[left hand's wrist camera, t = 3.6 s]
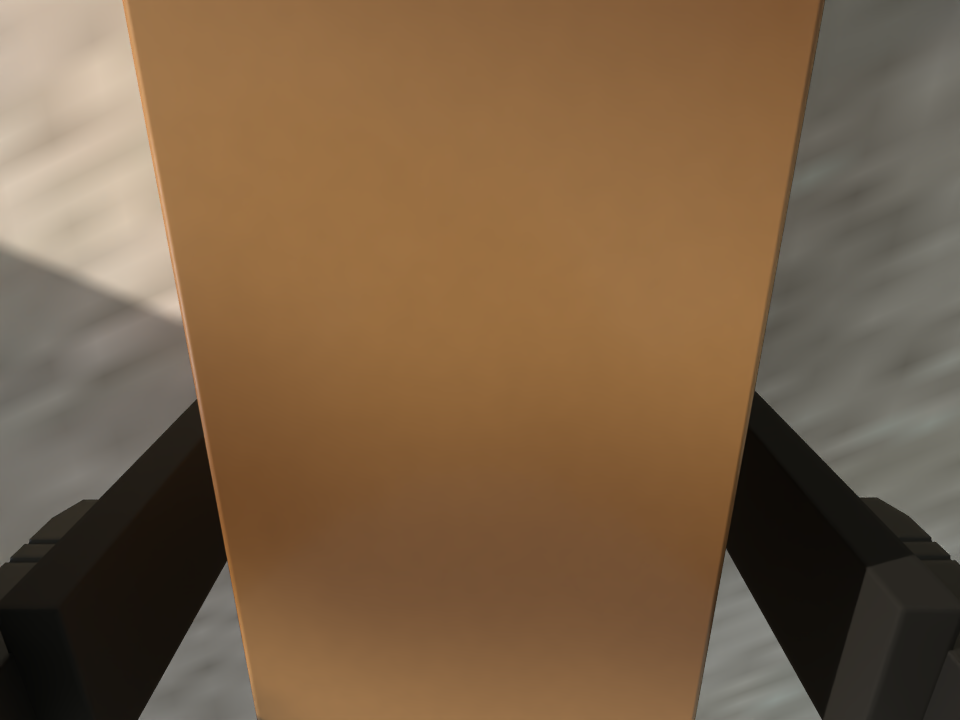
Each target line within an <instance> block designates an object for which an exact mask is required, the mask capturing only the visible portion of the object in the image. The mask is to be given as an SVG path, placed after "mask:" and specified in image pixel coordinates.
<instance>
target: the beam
mask: <svg viewBox="0 0 960 720" xmlns="http://www.w3.org/2000/svg"><path fill="white" fill-rule="evenodd" d="M824 3H825V0H123V6H124V11H125V16H126V22H127V27H128V32H129V38H130V43H131V48H132V54H133V59H134V64H135V70H136V75H137V80H138V86H139V91H140V96H141V102H142V107H143V112H144V118H145V123H146V128H147V134H148V139H149V144H150V150H151V155H152V160H153V166H154V171H155V176H156V182H157V187H158V192H159V198H160V203H161V208H162V214H163V219H164V224H165V230H166V235H167V240H168V246H169V251H170V256H171V262H172V267H173V272H174V278H175V283H176V288H177V294H178V299H179V304H180V310H181V315H182V320H183V326H184V331H185V337H186V342H187V347H188V353H189V358H190V363H191V369H192V374H193V379H194V385H195V390H196V395H197V401H198V406H199V411H200V417H201V422H202V427H203V433H204V438H205V443H206V449H207V454H208V459H209V465H210V470H211V475H212V481H213V486H214V491H215V497H216V502H217V507H218V513H219V518H220V523H221V529H222V534H223V539H224V545H225V550H226V555H227V561H228V566H229V571H230V577H231V582H232V587H233V593H234V598H235V603H236V609H237V614H238V619H239V625H240V630H241V635H242V641H243V646H244V651H245V657H246V662H247V667H248V673H249V678H250V683H251V689H252V694H253V699H254V705H255V710H256V715H257V720H695V717H696V711H697V706H698V700H699V695H700V689H701V684H702V678H703V672H704V667H705V661H706V656H707V650H708V645H709V639H710V634H711V628H712V623H713V617H714V612H715V606H716V601H717V595H718V589H719V584H720V578H721V573H722V567H723V562H724V556H725V551H726V545H727V540H728V534H729V529H730V523H731V518H732V512H733V507H734V501H735V495H736V490H737V484H738V479H739V473H740V468H741V462H742V457H743V451H744V446H745V440H746V435H747V429H748V424H749V418H750V413H751V407H752V401H753V396H754V390H755V385H756V379H757V374H758V368H759V363H760V357H761V352H762V346H763V341H764V335H765V330H766V324H767V318H768V313H769V307H770V302H771V296H772V291H773V285H774V280H775V274H776V269H777V263H778V258H779V252H780V247H781V241H782V236H783V230H784V224H785V219H786V213H787V208H788V202H789V197H790V191H791V186H792V180H793V175H794V169H795V164H796V158H797V153H798V147H799V142H800V136H801V130H802V125H803V119H804V114H805V108H806V103H807V97H808V92H809V86H810V81H811V75H812V70H813V64H814V59H815V53H816V47H817V42H818V36H819V31H820V25H821V20H822V14H823V9H824Z"/></svg>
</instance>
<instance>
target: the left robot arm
mask: <svg viewBox="0 0 960 720" xmlns="http://www.w3.org/2000/svg"><path fill="white" fill-rule="evenodd" d="M29 541H30V542H29V544H24V545H23V546H22V547H21V548H20V549H19V550H18V551H17V552H16V553H15V554H14V555H13V556H12V557H11V558H10V559H11V560H10V562H9V563H5V564H4V565H2V566H1V567H0V720H138V719H139V717H140V715H141V713H142V711H143V710H144V708H145V706H146V704H147V703H148V701H149V699H150V697H151V695H152V694H153V692H154V690H155V688H156V686H157V685H158V683H159V681H160V679H161V678H162V676H163V674H164V672H165V670H166V669H167V667H168V665H169V663H170V661H171V660H172V658H173V656H174V654H175V653H176V651H177V649H178V647H179V645H180V644H181V642H182V640H183V638H184V636H185V635H186V633H187V631H188V629H189V628H190V626H191V624H192V622H193V620H194V619H195V617H196V615H197V613H198V611H199V610H200V608H201V606H202V604H203V603H204V601H205V599H206V597H207V595H208V594H209V592H210V590H211V588H212V587H213V585H214V583H215V581H216V579H217V578H218V576H219V574H220V572H221V570H222V569H223V567H224V565H225V563H226V562H227V555H226V550H225V545H224V539H223V534H222V529H221V523H220V518H219V513H218V507H217V502H216V497H215V491H214V486H213V481H212V475H211V470H210V465H209V459H208V454H207V449H206V443H205V438H204V433H203V427H202V422H201V417H200V411H199V406H198V401H197V400H196V401H195V402H194V403H193V404H192V405H191V406H190V407H189V408H188V409H187V410H186V411H185V412H184V413H183V414H182V415H181V416H180V417H179V418H178V419H177V420H176V421H175V422H174V423H173V424H172V425H171V426H170V427H169V428H168V429H167V430H166V431H165V432H164V433H163V434H162V435H161V436H160V437H159V438H158V439H157V441H156V442H155V443H154V444H153V445H152V446H151V447H150V448H149V449H148V450H147V451H146V452H145V453H144V454H143V455H142V456H141V457H140V458H139V459H138V460H137V461H136V462H135V463H134V464H133V465H132V466H131V467H130V468H129V469H128V470H127V471H126V472H125V473H124V474H123V475H122V476H121V477H120V478H119V479H118V480H117V481H116V482H115V484H114V485H113V486H112V487H111V488H110V489H109V490H108V491H107V492H106V493H105V494H104V495H103V496H102V497H101V498H100V499H99V500H82V501H80V502H79V503H77V504H75V505H74V506H72V507H70V508H68V509H67V510H65V511H63V512H62V513H60V514H58V515H57V516H55V517H53V518H52V519H51V520H50V521H49V522H47V523H46V524H45V525H44V526H43V527H42V528H41V529H40V530H39V531H38V532H37V533H36V534H35V535H34V536H33V537H32V538H31V539H30V540H29ZM726 549H727V551H728V553H729V554H730V556H731V558H732V560H733V562H734V563H735V565H736V567H737V569H738V570H739V572H740V574H741V576H742V578H743V579H744V581H745V583H746V585H747V587H748V588H749V590H750V592H751V594H752V595H753V597H754V599H755V601H756V603H757V604H758V606H759V608H760V610H761V612H762V613H763V615H764V617H765V619H766V620H767V622H768V624H769V626H770V628H771V629H772V631H773V633H774V635H775V637H776V638H777V640H778V642H779V644H780V645H781V647H782V649H783V651H784V653H785V654H786V656H787V658H788V660H789V661H790V663H791V665H792V667H793V669H794V670H795V672H796V674H797V676H798V678H799V679H800V681H801V683H802V685H803V686H804V688H805V690H806V692H807V694H808V695H809V697H810V699H811V701H812V703H813V704H814V706H815V708H816V710H817V711H818V713H819V715H820V717H821V719H822V720H960V564H959V563H958V562H957V561H955V560H951V558H950V555H949V554H948V553H947V552H946V551H945V550H944V549H943V548H942V547H941V546H940V545H939V544H938V543H936V542H932V540H931V537H930V536H929V535H928V534H927V533H926V532H925V531H924V530H923V529H922V528H921V527H920V526H919V525H918V524H916V523H915V522H914V521H913V520H912V519H911V518H910V517H909V516H908V515H906V514H904V513H903V512H901V511H899V510H897V509H896V508H894V507H892V506H891V505H889V504H887V503H885V502H884V501H882V500H880V499H879V498H859V497H858V496H857V495H856V494H855V493H854V492H853V491H852V490H851V489H850V488H849V487H848V486H847V485H846V484H845V483H844V481H843V480H842V479H841V478H840V477H839V476H838V475H837V474H836V473H835V472H834V471H833V470H832V469H831V468H830V467H829V466H828V465H827V464H826V463H825V462H824V461H823V460H822V459H821V458H820V457H819V456H818V455H817V454H816V453H815V452H814V451H813V450H812V449H811V448H810V447H809V446H808V445H807V444H806V443H805V442H804V441H803V439H802V438H801V437H800V436H799V435H798V434H797V433H796V432H795V431H794V430H793V429H792V428H791V427H790V426H789V425H788V424H787V423H786V422H785V421H784V420H783V419H782V418H781V417H780V416H779V415H778V414H777V413H776V412H775V411H774V410H773V409H772V408H771V407H770V406H769V405H768V404H767V403H766V402H765V401H764V400H763V399H762V398H761V396H760V395H759V394H758V393H757V392H756V391H755V390H754V396H753V401H752V407H751V413H750V418H749V424H748V429H747V435H746V440H745V446H744V451H743V457H742V462H741V468H740V473H739V479H738V484H737V490H736V495H735V501H734V507H733V512H732V518H731V523H730V529H729V534H728V540H727V545H726Z"/></svg>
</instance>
